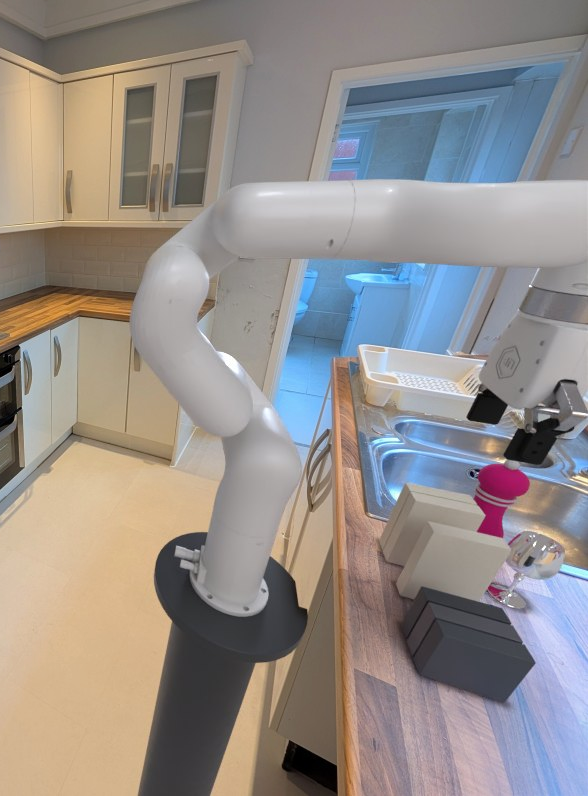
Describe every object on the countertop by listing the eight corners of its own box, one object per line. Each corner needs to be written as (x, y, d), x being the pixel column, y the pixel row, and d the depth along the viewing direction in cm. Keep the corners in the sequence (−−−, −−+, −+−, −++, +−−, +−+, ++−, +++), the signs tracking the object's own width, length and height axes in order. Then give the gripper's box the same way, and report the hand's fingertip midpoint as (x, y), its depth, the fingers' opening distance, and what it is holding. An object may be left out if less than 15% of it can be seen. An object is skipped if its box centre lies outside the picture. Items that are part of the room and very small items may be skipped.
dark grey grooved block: (418, 675, 59) (443, 635, 55) (400, 624, 65) (421, 585, 62) (504, 703, 55) (536, 663, 52) (475, 647, 62) (502, 607, 58)
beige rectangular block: (386, 561, 76) (415, 500, 70) (378, 541, 81) (405, 481, 75) (449, 578, 73) (486, 515, 67) (437, 555, 77) (470, 495, 71)
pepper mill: (447, 557, 77) (498, 467, 68) (431, 530, 83) (475, 444, 74) (499, 569, 74) (558, 478, 66) (478, 540, 81) (529, 453, 72)
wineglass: (473, 578, 73) (505, 525, 68) (512, 584, 72) (548, 531, 67) (498, 608, 68) (535, 553, 63) (541, 615, 67) (583, 560, 61)
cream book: (400, 595, 70) (433, 531, 64) (395, 583, 72) (427, 520, 66) (470, 615, 67) (512, 550, 61) (463, 602, 69) (503, 538, 63)
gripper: (488, 288, 55) (435, 404, 62) (576, 325, 40) (495, 471, 48) (567, 293, 52) (503, 414, 59) (692, 335, 38) (587, 488, 45)
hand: (499, 439), depth 53 cm, fingers open, 9 cm apart
